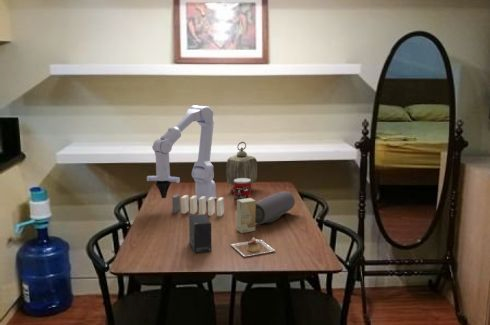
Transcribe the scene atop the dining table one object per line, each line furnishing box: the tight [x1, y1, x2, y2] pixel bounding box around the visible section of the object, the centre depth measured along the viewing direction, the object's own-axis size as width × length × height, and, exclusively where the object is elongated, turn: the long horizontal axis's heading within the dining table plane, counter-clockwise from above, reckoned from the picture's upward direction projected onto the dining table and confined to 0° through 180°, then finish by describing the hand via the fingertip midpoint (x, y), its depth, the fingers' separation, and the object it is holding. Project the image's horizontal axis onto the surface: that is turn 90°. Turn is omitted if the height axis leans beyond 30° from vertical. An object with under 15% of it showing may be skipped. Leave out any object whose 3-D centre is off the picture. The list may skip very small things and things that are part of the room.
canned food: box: [233, 178, 252, 206], centre depth 219 cm, size 8×8×11 cm
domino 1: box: [171, 194, 181, 214], centre depth 208 cm, size 2×4×7 cm, turn 166°
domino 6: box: [216, 197, 225, 217], centre depth 203 cm, size 2×4×7 cm, turn 166°
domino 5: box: [207, 197, 216, 217], centre depth 204 cm, size 2×4×7 cm, turn 166°
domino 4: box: [198, 196, 207, 215], centre depth 205 cm, size 2×4×7 cm, turn 166°
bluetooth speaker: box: [255, 190, 296, 225], centre depth 197 cm, size 23×9×10 cm, turn 145°
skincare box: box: [236, 197, 257, 234], centre depth 184 cm, size 6×4×12 cm
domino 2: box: [180, 194, 190, 214], centre depth 207 cm, size 2×4×7 cm, turn 166°
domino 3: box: [189, 195, 198, 215], centre depth 206 cm, size 2×4×7 cm, turn 166°
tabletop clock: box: [225, 141, 258, 194], centre depth 238 cm, size 14×9×25 cm, turn 144°
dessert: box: [229, 237, 277, 258], centre depth 166 cm, size 12×12×5 cm
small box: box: [188, 213, 213, 254], centre depth 168 cm, size 11×6×10 cm, turn 17°
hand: (164, 197), depth 209 cm, fingers closed
